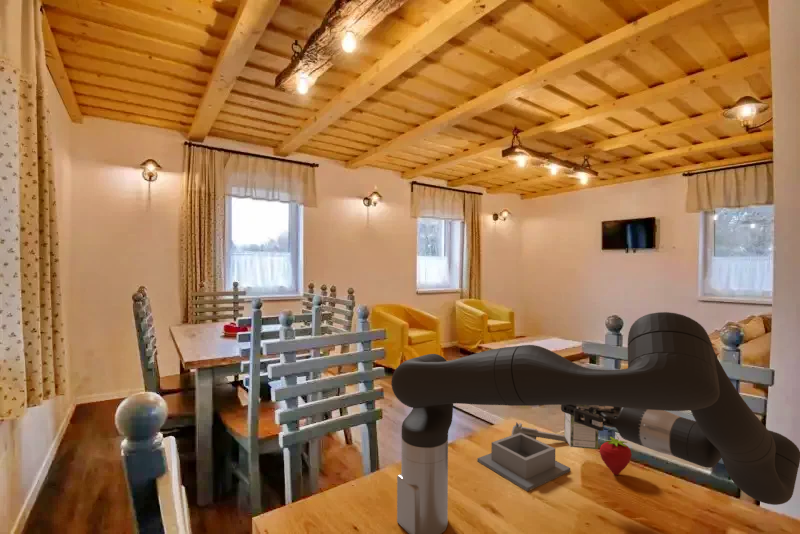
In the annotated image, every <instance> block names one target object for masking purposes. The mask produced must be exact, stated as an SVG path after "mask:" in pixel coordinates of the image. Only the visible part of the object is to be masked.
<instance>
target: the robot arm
mask: <svg viewBox="0 0 800 534" xmlns="http://www.w3.org/2000/svg"><path fill="white" fill-rule="evenodd" d="M390 383H391V389H392V392H393V394H394V396H395V397H396V399H397V400H398V401H399V402H400V403H401V404H403V405H404V406H406V407H408V408H412V409H411V410H410V412H409V414H408V415H407V416H406V417H405V418H404V420H403V421H402V425H401V459H400V461H401V465H400V466H401V467H400V468H401V470H400V471H401V473H400V474H398V475H397V476H396V478H397V479H396V488H397V489H396V495H397V496H396V499H397V500H396V503H397V504H396V523H397V524H398V525H400V526H401V528H402V529H403V530H404V531H405V532H407V534H443V533H444V532H445V531H446V529H447V527H448V524H449V523H448V519H449V518H448V516H449V514H448V513H449V512H448V509H449V508H448V507H449V506H448V504H449V503H448V502H449V501H448V500H449V496H448V495H449V493H448V491H449V489H448V488H449V480H448V479H449V472H448V471H449V431H450V427H451V425H452V424H453V423H452V422H453V415H454V412H453V411H454V404H462V405H463V404H464V405H478V406H511V407H514V406H518V407H520V406H521V407H523V406H528V407H529V406H531V407H533V406H534V407H535V406H549V405H551V406H555V405H556V406H557V405H558V406H560V410H561V412H563V413H564V414H565V413H568V414H570V415H573V416H574V422H577V423H580V424H582V425H585V426H588V427H591V428H594V429H596V430H598V432H599V431H600V432H602V431H604V427H606V428H615V429H616V430H617V432H618V434H619V436H620V437H621V438H622V439H623V440H625V441H627V442H631V443H633V444H636V445H639V446H641V447H644V448H646V449H649V450H653V451H655V452H658V453H661V454H665V455H670V456H672V457H675V458H678V459H681V460H683V461H686V462H689V463H692V464H695V465H697V466H699V467H702V468H703V467H704V468H707V469H709V468H713V467H715V466H717V464H719V462H720V461H721V460H722V463H723V465H724V468H725V470H726V472H727V475H728V477H729V478H730V479H731V481H732V482H733V483H734V485H735V486H736V487H737V489H739V490H740V491H742V493H744V494H746V495H747V496H749V497H750V498H752V499H754V500H756V501H758V502H760V503H763V504H767V505H773V506H775V505H776V506H778V505H783V504H784V505H785V503H787V502H789V501H790V500H791V499H792V497H793V495H794V491H795V487H796V481H797V476H798V471H799V467H800V449H799V447H798V446H797V444H796V443H794V442H793V441H792V440H791V439H789V438H788V437H786V436H785V435H783V434H781V433H779V432H777V431H776V432H775V431H773V430H769V429H768V428H767V427H766V426H765V424H764V423H763V422H762V421H761V420H760V419H759V417H758V416H757V415H756V414H755V413H754V411H753V410H752V409H751V408H750V407H749V405H748V404H747V403H746V401H745V400H744V399H743V397H742V395H741V394H740V393H739V391H738V390H737V389H736V387H735V385H734V384H733V382H732V381H731V379H730V377H729V376H728V374H727V372H726V370H725V369H724V367H723V366H722V364H721V361H720V360H719V358H718V357H717V354H716V351H715V350H714V347H713V344H712V341H711V339H710V336H709V333H708V332H707V330H706V329H705V328H704V326H702V324H700V323H699V322H698V321H696V320H695V319H693V318H691V317H689V316H686V315H684V314H681V313H677V312H667V311H666V312H665V311H664V312H663V311H662V312H661V311H660V312H658V311H657V312H652V313H648V314H645V315H642V316H641V317H639V318H637V319H636V320H635V321H634V322H633V323H632V324H631V326H630V327H629V332H628V335H627V368H621V369H597V368H594V369H593V368H587V367H586V366H582V365H579V364H577V363H575V362H573V361H571V360H569V359H567V358H565V357H563V356H562V355H559V354H558V353H556V352H554V351H552V350H550V349H548V348H546V347H542V346H540V345H535V344H524V345H515V346H506V347H499V348H495V349H494V348H493V349H489V350H488V349H487V350H484V351H480V352H476V353H473V354H472V353H471V354H470V355H465V356H463V357H459V358H457V359H452V360H451V359H450V360H446V358H445V357H443V356H442V355H439V354H438V353H437V354H436V353H429V354H423V355H420V356H417V357H413V358H410V359H406V360H404V361H403V362H402V363H401V364H399V365H398V366H397V367H396V369H394V371H393V373H392V377H391V382H390ZM578 405H590V406H589V407H583V406H578ZM595 405H599V406H595ZM594 410H596V414H593V411H594ZM586 411H589V412H586ZM683 411H684V412H685V411H686V412H687V411H690V412H691V414H692V416H693V418H694V420H692V419H689V418H685V417H682V416H679V415H677V414H675V413H673V412H683ZM583 415H584V416H583Z"/></svg>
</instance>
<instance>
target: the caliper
mask: <svg viewBox="0 0 800 534" xmlns="http://www.w3.org/2000/svg"><path fill="white" fill-rule="evenodd" d="M522 425H523V424H522V422H520V423H518V422H515V425H513V427H512V430H511V435H514V434H517V433H520V432H521V433H523V434H525V435H527V436H529V437H531V438H534V439H536V440H537V438H540V439H545V440H546V439H547V440H553V441H558V442H565V443H568V441H567V440H566V438H565V436H564V434H560V433H554V432H553V433H552V432H547V431H541V430H538V429H537V428H532V427H526V426H522Z"/></svg>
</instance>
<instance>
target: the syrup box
mask: <svg viewBox="0 0 800 534" xmlns="http://www.w3.org/2000/svg"><path fill="white" fill-rule="evenodd" d="M578 406H583V407H589V406H590V405H578ZM595 406H599V405H595ZM586 412H589V411H586ZM593 414H596V410H594V411H593ZM583 416H584V415H583ZM563 428H564V430H563V431H564V433H563V435H564V436H565V438H566V440H567V441H568V442H567V443H568V445H569V446H570V448H580V449H591V450H598V448H599V430H596V429H594V428H591V427H588V426H585V425H582V424H580V423H577V422H574V416H573V415H570V414H568V413H565V412H564V427H563Z"/></svg>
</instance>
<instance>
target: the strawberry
mask: <svg viewBox="0 0 800 534" xmlns="http://www.w3.org/2000/svg"><path fill="white" fill-rule="evenodd" d="M613 433H614V434H615V437H617V438H614V437H612V436H609V438H610V440H604V443H602V444H601V445H600V448H599V454H600V458H601V460H602V461H603V463H604V464H605V465H606V467H607V468H608V469H609V470H610V472H611V473H612V474H613V475H615V476H616V475H617V476H618V475H619V474H620V473H622V472H623V470H625V469H626V467H627V466H628V464H629V463H630V461H631V458H632V450H631V448H630V447H629V446H628V445H627V443H628V441H626V440H625V441H624V440H619V437H618V435H617V434H616V432H613Z"/></svg>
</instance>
